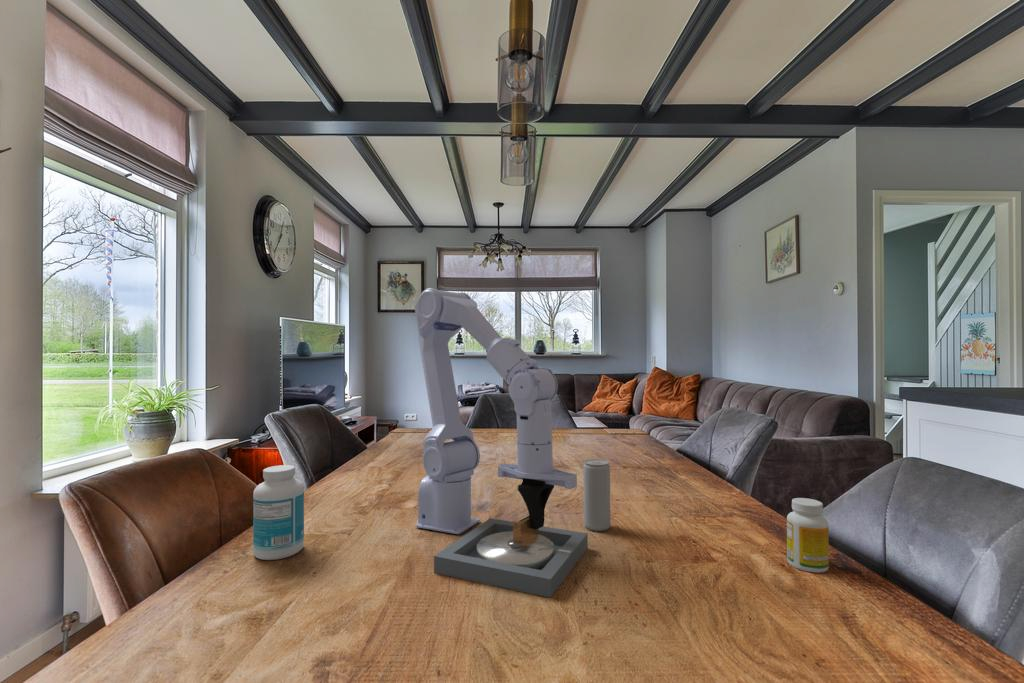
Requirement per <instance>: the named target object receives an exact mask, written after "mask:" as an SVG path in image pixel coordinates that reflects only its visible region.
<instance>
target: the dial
mask: <svg viewBox="0 0 1024 683" xmlns="http://www.w3.org/2000/svg"><path fill="white" fill-rule="evenodd" d="M512 522H513V531H508V532H500V533H495V534H491V535H489V536H486V537H484V538H482V539H481V540H480V541H479V542H478V543H477V558H480V559H486V560H491V561H496V562H501V563H506V564H511V565H517V566H522V567H527V568H532V569H539V568H541V567H544V566H546V565H547V564H548V562H549V561H550V560H551V559H552V558H553V557H554V544H553V542H552V541H551V540H550V539H548V538H547V537H545V536H542V535H539V529H537V530H535V529H531V526H530V518H529V513H527V514H525V515H523V516H521V517H519V518H517V519H515V520H513V521H512Z"/></svg>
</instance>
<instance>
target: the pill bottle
mask: <svg viewBox="0 0 1024 683" xmlns="http://www.w3.org/2000/svg"><path fill="white" fill-rule="evenodd" d="M295 475H296V467H295V465H292V464H282V465H281V464H279V465H272V466H267V467H266V468H264V469H262V477H263V480H264V481H263V482H261V483H259V484H258V485H256V487H255V488H254V490H253V493H252V494H253V495H252V497H253V500H252V501H253V506H252V509H253V511H252V512H253V513H252V514H253V516H252V522H253V523H252V524H253V525H252V529H253V530H252V533H253V534H252V540H253V541H252V551H253V552H252V554H253V556H255V558H257V559H259V560H264V561H274V560H281V559H286V558H289V557H292V556H294V555H296V554H298V553H299V552H300V551H301V550H302V549H303V548H304V544H305V486H304V483H303V482H302V481H301V480H300V479H297V478H294V477H295Z"/></svg>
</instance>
